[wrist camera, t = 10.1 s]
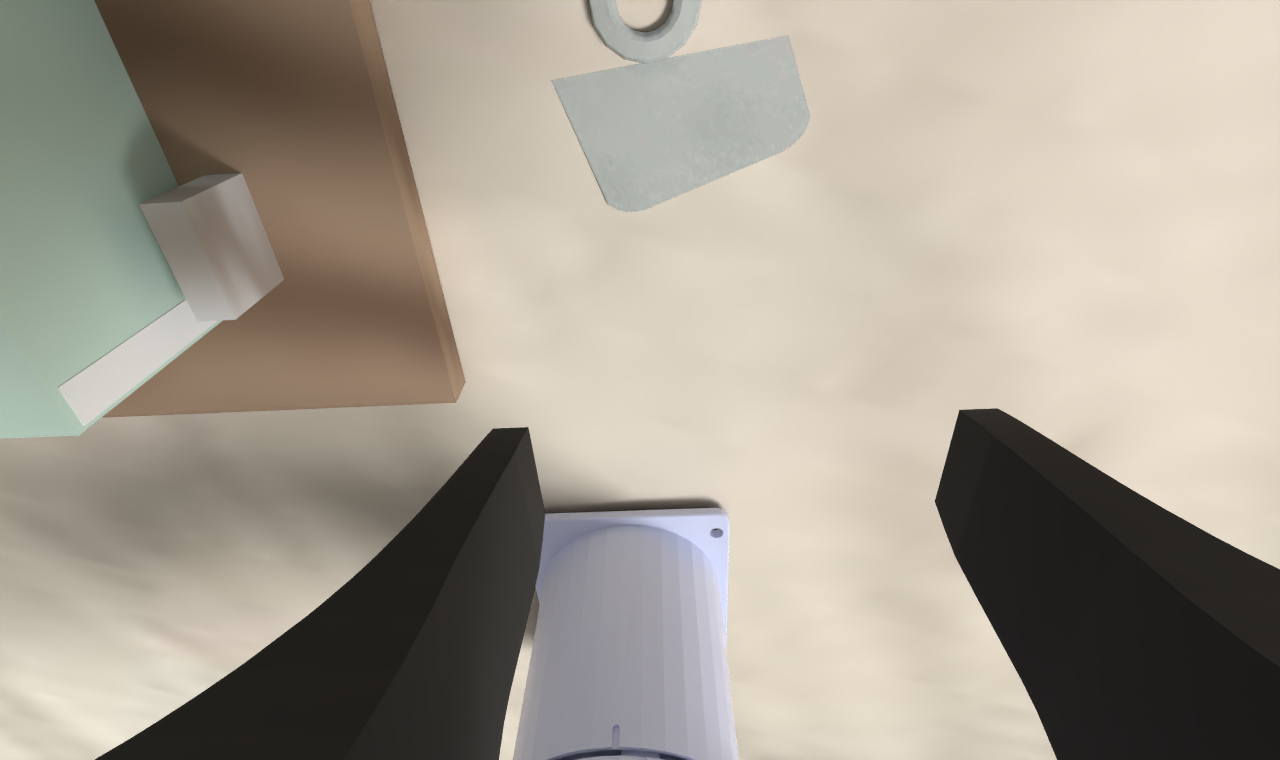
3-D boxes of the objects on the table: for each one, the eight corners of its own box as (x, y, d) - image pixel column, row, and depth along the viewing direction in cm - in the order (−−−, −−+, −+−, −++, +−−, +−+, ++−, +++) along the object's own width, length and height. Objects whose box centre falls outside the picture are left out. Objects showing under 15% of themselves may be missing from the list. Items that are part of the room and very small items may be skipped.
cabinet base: (465, 382, 21) (433, 451, 18) (124, 397, 22) (36, 467, 18) (211, -630, 10) (21, -894, 7) (-459, -553, 11) (-906, -768, 8)
